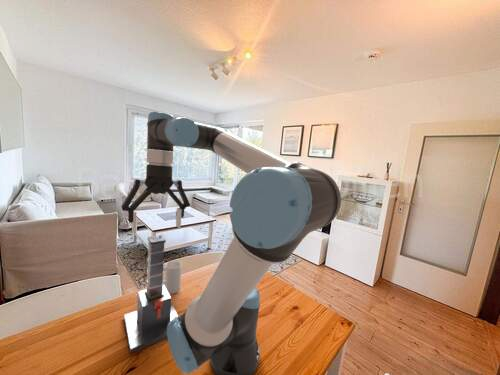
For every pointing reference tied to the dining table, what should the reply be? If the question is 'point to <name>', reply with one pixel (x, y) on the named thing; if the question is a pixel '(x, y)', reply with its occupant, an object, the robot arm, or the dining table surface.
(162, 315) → the sleeve
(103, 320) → the dining table surface
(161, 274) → the column
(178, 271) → the mug
